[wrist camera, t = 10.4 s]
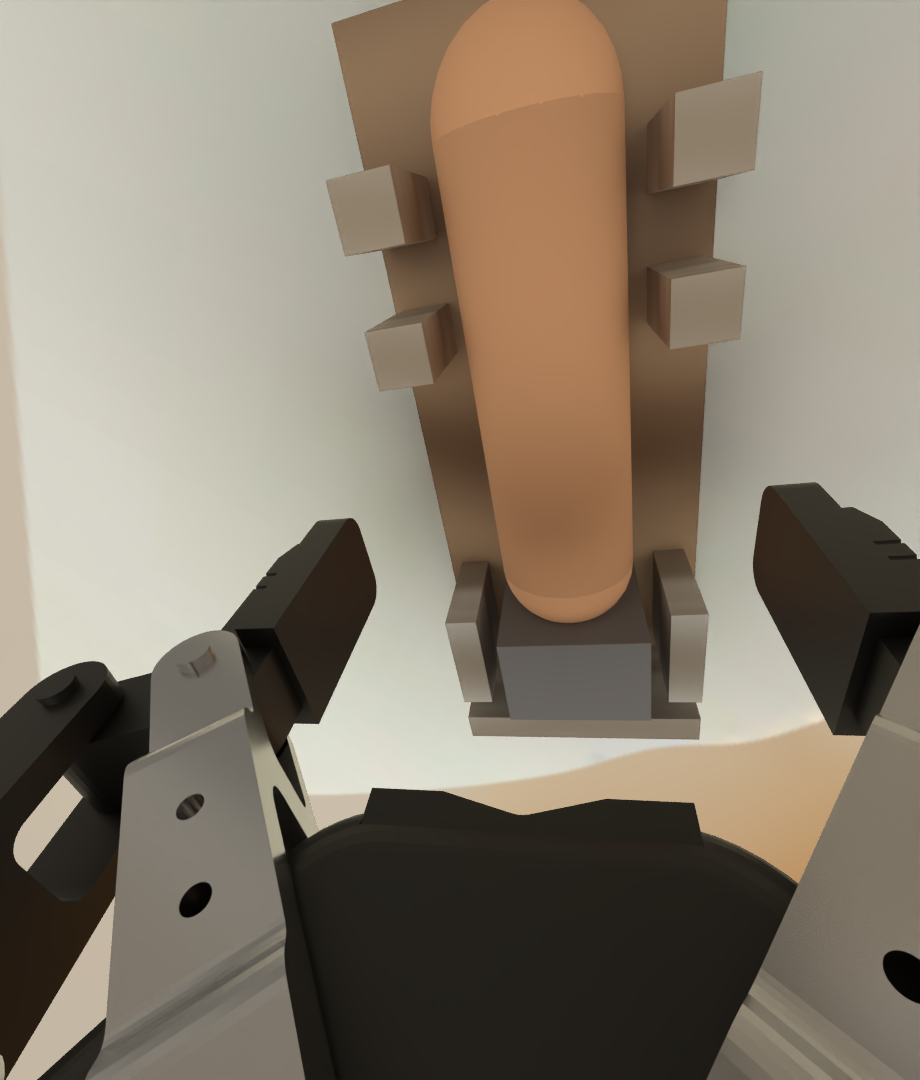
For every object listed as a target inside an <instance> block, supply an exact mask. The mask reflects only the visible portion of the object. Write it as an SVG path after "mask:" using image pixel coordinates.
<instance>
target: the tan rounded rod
mask: <svg viewBox="0 0 920 1080" xmlns="http://www.w3.org/2000/svg"><path fill="white" fill-rule="evenodd" d="M430 127H431V138H432V147H433V153H434V159H435V165H436V171H437V177H438V183H439V189H440V195H441V200H442V206H443V212H444V218H445V224H446V230H447V236H448V242H449V248H450V254H451V260H452V266H453V272H454V278H455V283H456V289H457V295H458V301H459V307H460V313H461V319H462V325H463V331H464V337H465V343H466V349H467V355H468V360H469V366H470V372H471V378H472V384H473V390H474V396H475V402H476V408H477V414H478V420H479V426H480V432H481V438H482V443H483V449H484V455H485V461H486V467H487V473H488V479H489V485H490V491H491V497H492V503H493V509H494V515H495V521H496V526H497V532H498V538H499V544H500V550H501V556H502V562H503V568H504V573H505V576H506V585H505V592H504V599H503V605H502V612H501V619H500V626H499V633H498V640H497V652H498V658H499V663H500V668H501V673H502V678H503V683H504V688H505V694H506V699H507V704H508V709H509V714H510V719H511V720H624V721H651V639H650V635H649V630H648V626H647V621H646V617H645V612H644V607H643V603H642V598H641V594H640V589H639V585H638V580H637V576H636V571H635V566H634V562H633V523H632V470H631V416H630V363H629V309H628V256H627V203H626V149H625V97H624V90H623V80H622V71H621V67H620V64H619V60H618V57H617V53H616V50H615V47H614V45H613V43H612V41H611V39H610V37H609V35H608V33H607V31H606V29H605V27H604V26H603V25H602V23H601V22H600V21H599V20H598V19H597V17H596V16H595V15H594V14H593V13H592V12H591V10H590V9H589V8H588V7H587V6H586V5H584V4H583V3H581V2H580V1H578V0H489V1H488V2H486V3H485V4H483V5H482V6H481V7H480V8H479V9H478V10H477V11H476V12H475V13H474V14H473V15H472V16H471V17H470V18H469V19H468V20H467V21H466V22H464V24H463V25H462V26H461V28H460V29H459V31H458V32H457V34H456V35H455V37H454V38H453V40H452V42H451V43H450V45H449V46H448V48H447V50H446V53H445V55H444V58H443V60H442V63H441V65H440V68H439V70H438V74H437V78H436V82H435V86H434V91H433V95H432V102H431V117H430Z"/></svg>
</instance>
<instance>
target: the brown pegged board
mask: <svg viewBox="0 0 920 1080" xmlns="http://www.w3.org/2000/svg"><path fill="white" fill-rule="evenodd" d="M488 1H489V0H402V1H399V2H396V3H392V4H389V5H386V6H383V7H380V8H377V9H374V10H371V11H368V12H365V13H362V14H359V15H356V16H353V17H350V18H347V19H343V20H340V21H337V22H334V23H331V24H332V29H333V33H334V38H335V42H336V47H337V51H338V56H339V60H340V65H341V69H342V73H343V78H344V82H345V87H346V91H347V96H348V100H349V105H350V109H351V114H352V118H353V123H354V127H355V132H356V136H357V141H358V145H359V150H360V154H361V159H362V163H363V167H364V171H362V172H358V173H354V174H350V175H346V176H343V177H339V178H335V179H331V180H327V181H326V184H327V188H328V192H329V196H330V199H331V203H332V207H333V211H334V215H335V219H336V223H337V227H338V231H339V235H340V239H341V242H342V246H343V250H344V254H345V256H351V255H357V254H363V253H369V252H374V251H380V250H382V252H383V257H384V261H385V266H386V270H387V275H388V279H389V284H390V288H391V293H392V297H393V302H394V306H395V311H396V315H394V316H392V317H391V318H389V319H387V320H385V321H384V322H382V323H380V324H379V325H377V326H375V327H373V328H372V329H370V330H368V331H367V332H365V336H366V340H367V344H368V348H369V352H370V356H371V360H372V364H373V367H374V371H375V375H376V379H377V383H378V387H379V391H387V390H394V389H401V388H408V387H413V391H414V396H415V400H416V405H417V409H418V414H419V418H420V423H421V427H422V432H423V436H424V440H425V445H426V449H427V454H428V458H429V463H430V467H431V472H432V476H433V481H434V485H435V490H436V494H437V499H438V503H439V508H440V512H441V517H442V521H443V525H444V530H445V534H446V539H447V543H448V548H449V552H450V557H451V561H452V566H453V570H454V575H455V579H456V587H455V590H454V594H453V597H452V601H451V604H450V608H449V612H448V615H447V619H446V622H445V625H446V629H447V633H448V637H449V641H450V645H451V649H452V653H453V657H454V661H455V665H456V669H457V673H458V677H459V681H460V685H461V689H462V693H463V697H464V701H465V702H471V706H470V712H469V717H468V718H469V722H470V726H471V730H472V734H473V736H517V737H578V738H638V739H698V740H699V734H700V721H701V719H700V715H699V712H698V708H697V705H696V702H702V695H703V682H704V669H705V656H706V643H707V630H708V617H709V614H708V611H707V609H706V606H705V603H704V601H703V598H702V596H701V593H700V590H699V588H698V585H697V582H696V580H695V562H696V544H697V527H698V509H699V492H700V474H701V456H702V439H703V421H704V403H705V386H706V368H707V350H708V344H711V343H718V342H724V341H731V340H738V339H740V331H741V320H742V308H743V296H744V284H745V273H746V266H744V265H739V264H735V263H731V262H727V261H723V260H719V259H715V258H713V244H714V227H715V209H716V191H717V179H720V178H724V177H727V176H731V175H735V174H739V173H743V172H747V171H751V170H754V168H755V156H756V144H757V133H758V121H759V109H760V98H761V86H762V74H763V71H761V72H757V73H753V74H749V75H745V76H741V77H737V78H733V79H729V80H725V81H723V68H724V50H725V33H726V15H727V0H578V1H580V2H581V3H583V4H584V5H586V6H587V7H588V8H589V9H590V10H591V12H592V13H593V14H594V15H595V16H596V17H597V19H598V20H599V21H600V22H601V23H602V25H603V26H604V27H605V29H606V31H607V33H608V35H609V37H610V39H611V41H612V43H613V45H614V47H615V50H616V53H617V57H618V60H619V64H620V67H621V71H622V80H623V90H624V97H625V149H626V203H627V256H628V309H629V363H630V416H631V470H632V523H633V562H634V566H635V571H636V576H637V580H638V585H639V589H640V594H641V598H642V603H643V607H644V612H645V617H646V621H647V626H648V630H649V635H650V639H651V721H624V720H511V719H510V714H509V709H508V704H507V699H506V694H505V688H504V683H503V678H502V673H501V668H500V663H499V658H498V652H497V640H498V633H499V626H500V619H501V612H502V605H503V599H504V592H505V585H506V576H505V573H504V568H503V562H502V556H501V550H500V544H499V538H498V532H497V526H496V521H495V515H494V509H493V503H492V497H491V491H490V485H489V479H488V473H487V467H486V461H485V455H484V449H483V443H482V438H481V432H480V426H479V420H478V414H477V408H476V402H475V396H474V390H473V384H472V378H471V372H470V366H469V360H468V355H467V349H466V343H465V337H464V331H463V325H462V319H461V313H460V307H459V301H458V295H457V289H456V283H455V278H454V272H453V266H452V260H451V254H450V248H449V242H448V236H447V230H446V224H445V218H444V212H443V206H442V200H441V195H440V189H439V183H438V177H437V171H436V165H435V159H434V153H433V147H432V138H431V127H430V117H431V102H432V95H433V91H434V86H435V82H436V78H437V74H438V70H439V68H440V65H441V63H442V60H443V58H444V55H445V53H446V50H447V48H448V46H449V45H450V43H451V42H452V40H453V38H454V37H455V35H456V34H457V32H458V31H459V29H460V28H461V26H462V25H463V24H464V22H466V21H467V20H468V19H469V18H470V17H471V16H472V15H473V14H474V13H475V12H476V11H477V10H478V9H479V8H480V7H481V6H482V5H483V4H485V3H486V2H488Z"/></svg>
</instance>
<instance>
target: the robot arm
mask: <svg viewBox="0 0 920 1080" xmlns="http://www.w3.org/2000/svg"><path fill="white" fill-rule="evenodd" d="M753 572H754V579H755V583H756V587H757V589H758V592H759V594H760V596H761V598H762V599H763V601H764V603H765V605H766V607H767V609H768V611H769V613H770V615H771V617H772V619H773V620H774V622H775V624H776V626H777V628H778V630H779V632H780V634H781V636H782V638H783V640H784V642H785V643H786V645H787V647H788V649H789V651H790V653H791V655H792V657H793V659H794V661H795V663H796V665H797V666H798V668H799V670H800V672H801V674H802V676H803V678H804V680H805V682H806V684H807V686H808V687H809V689H810V691H811V693H812V695H813V697H814V699H815V701H816V703H817V705H818V707H819V709H820V710H821V712H822V714H823V716H824V718H825V720H826V722H827V724H828V726H829V728H830V730H831V732H832V733H833V735H854V736H855V735H856V736H866V737H865V739H864V741H863V743H862V746H861V748H860V751H859V753H858V754H857V757H856V759H855V761H854V763H853V765H852V768H851V770H850V772H849V774H848V776H847V779H846V781H845V783H844V785H843V788H842V790H841V792H840V794H839V796H838V799H837V801H836V803H835V805H834V807H833V809H832V812H831V814H830V816H829V818H828V821H827V823H826V825H825V827H824V829H823V832H822V834H821V836H820V839H819V840H818V842H817V845H816V847H815V849H814V851H813V854H812V856H811V858H810V860H809V863H808V865H807V867H806V869H805V871H804V874H803V876H802V878H801V880H800V882H799V884H798V883H797V882H795V881H794V880H793V879H792V878H790V877H789V876H788V875H786V874H785V873H783V872H782V871H780V870H779V869H777V868H775V867H774V866H773V865H771V864H770V863H768V862H767V861H765V860H764V859H762V858H760V857H758V856H756V855H754V854H753V853H751V852H749V851H747V850H745V849H743V848H741V847H739V846H737V845H735V844H733V843H730V842H728V841H725V840H723V839H721V838H718V837H716V836H713V835H710V834H706V833H703V832H701V831H700V827H699V823H698V818H697V814H696V810H695V805H694V803H682V802H660V801H639V800H618V799H617V800H616V799H604V800H599V801H594V802H589V803H584V804H579V805H574V806H570V807H564V808H560V809H554V810H549V811H545V812H540V813H535V814H530V815H516V814H512V813H509V812H506V811H502V810H500V809H496V808H493V807H490V806H487V805H484V804H481V803H478V802H475V801H472V800H468V799H465V798H462V797H459V796H456V795H453V794H450V793H447V792H444V791H427V790H406V789H384V788H372V790H371V793H370V797H369V800H368V803H367V806H366V809H365V812H364V814H360V815H356V816H353V817H350V818H347V819H344V820H342V821H339V822H337V823H335V824H333V825H330V826H328V827H326V828H324V829H322V830H320V831H319V829H318V826H317V823H316V820H315V817H314V814H313V811H312V807H311V804H310V800H309V797H308V793H307V790H306V787H305V783H304V780H303V776H302V773H301V770H300V766H299V763H298V759H297V756H296V753H295V749H294V746H293V743H292V741H291V739H290V737H289V736H288V734H289V732H290V730H291V728H292V726H293V724H294V723H299V724H319V722H320V720H321V718H322V716H323V714H324V712H325V709H326V707H327V705H328V703H329V701H330V699H331V696H332V694H333V692H334V690H335V688H336V686H337V683H338V681H339V679H340V677H341V675H342V673H343V671H344V668H345V666H346V664H347V662H348V660H349V658H350V655H351V653H352V651H353V649H354V647H355V645H356V642H357V640H358V638H359V636H360V634H361V632H362V629H363V627H364V625H365V623H366V621H367V619H368V616H369V614H370V612H371V610H372V608H373V606H374V603H375V599H376V580H375V575H374V572H373V569H372V566H371V563H370V560H369V556H368V553H367V550H366V547H365V544H364V541H363V538H362V535H361V531H360V528H359V526H358V524H357V522H356V521H355V520H354V519H352V518H347V519H334V520H321V521H318V522H316V523H315V525H314V526H313V527H312V528H311V530H310V531H309V532H308V534H307V535H306V536H305V538H304V539H303V540H302V541H301V543H300V544H297V545H296V546H295V547H293V548H292V549H290V550H289V551H288V552H286V553H285V554H284V555H282V556H281V557H279V558H278V559H277V561H276V562H275V563H274V564H273V566H272V567H271V568H270V569H269V571H268V572H267V573H266V575H267V576H266V577H263V578H262V579H261V581H260V582H259V583H258V585H257V586H256V589H254V590H253V591H252V592H251V593H250V595H249V596H248V597H247V598H246V600H245V601H244V602H243V603H242V605H241V606H240V607H239V608H238V610H237V611H236V612H235V613H234V615H233V616H232V617H231V618H230V620H229V621H228V622H227V623H226V625H225V626H224V627H223V628H222V630H218V631H210V632H205V633H202V634H199V635H196V636H193V637H191V638H189V639H187V640H185V641H183V642H182V643H180V644H178V645H177V646H175V647H174V648H172V649H171V650H170V651H169V652H167V653H166V654H165V655H164V656H163V657H162V658H161V659H160V660H159V662H158V663H157V664H156V666H155V667H154V669H153V672H152V673H150V674H146V675H142V676H138V677H134V678H130V679H126V680H123V681H119V682H117V681H116V680H115V678H114V677H113V675H112V674H111V673H110V671H109V670H108V669H107V667H106V666H105V665H104V664H103V663H101V662H96V661H90V662H83V663H79V664H75V665H72V666H69V667H67V668H65V669H62V670H60V671H58V672H56V673H54V674H52V675H51V676H49V677H47V678H46V679H44V680H43V681H41V682H40V683H38V684H37V685H36V686H34V687H33V688H32V689H30V690H29V691H28V692H27V693H26V694H25V695H24V696H23V697H22V698H21V699H20V700H19V701H18V702H17V703H16V704H15V705H14V706H12V707H11V708H10V709H9V710H8V711H7V712H6V713H5V714H4V715H3V717H1V718H0V1080H6V1078H7V1077H8V1075H9V1073H10V1071H11V1070H12V1068H13V1066H14V1065H15V1063H16V1061H17V1060H18V1058H19V1056H20V1055H21V1053H22V1051H23V1050H24V1048H25V1046H26V1045H27V1043H28V1041H29V1040H30V1038H31V1036H32V1034H33V1033H34V1031H35V1029H36V1028H37V1026H38V1024H39V1023H40V1021H41V1019H42V1018H43V1016H44V1014H45V1013H46V1011H47V1009H48V1008H49V1006H50V1004H51V1003H52V1001H53V999H54V997H55V996H56V994H57V993H58V991H59V989H60V987H61V986H62V984H63V982H64V981H65V979H66V977H67V976H68V974H69V972H70V971H71V969H72V967H73V966H74V964H75V962H76V961H77V959H78V957H79V956H80V954H81V952H82V950H83V949H84V947H85V945H86V944H87V942H88V940H89V939H90V937H91V935H92V934H93V932H94V930H95V929H96V927H97V925H98V923H99V922H100V920H101V918H102V917H103V915H104V913H105V912H106V910H107V908H108V907H109V905H110V903H111V902H112V900H113V898H114V897H115V906H114V920H113V933H112V947H111V961H110V974H109V988H108V1002H107V1016H106V1018H105V1019H104V1020H103V1021H101V1022H100V1023H99V1024H98V1025H97V1026H96V1027H95V1028H94V1029H93V1030H92V1031H90V1032H89V1033H88V1034H87V1035H86V1036H85V1037H84V1038H83V1039H82V1040H80V1041H79V1042H78V1043H77V1044H76V1045H75V1046H74V1047H73V1048H72V1049H71V1050H69V1051H68V1052H67V1053H66V1054H65V1055H64V1056H63V1057H62V1058H61V1059H60V1060H59V1061H57V1062H56V1063H55V1064H54V1065H53V1066H52V1067H51V1068H50V1069H49V1070H47V1071H46V1072H45V1073H44V1074H43V1075H42V1076H41V1077H40V1078H39V1079H37V1080H920V559H917V555H916V554H915V553H914V552H913V551H912V550H911V549H910V548H909V547H908V546H907V545H906V544H905V543H902V544H901V539H900V538H899V537H898V536H897V535H896V534H895V533H894V532H892V531H891V530H890V529H889V528H888V527H887V526H886V525H885V524H884V523H883V522H882V521H880V520H878V519H876V518H874V517H872V516H870V515H868V514H866V513H863V512H861V511H859V510H857V509H855V508H853V507H848V508H841V507H840V506H839V505H838V504H837V503H836V502H835V501H834V500H833V498H832V497H831V496H830V495H829V494H828V493H827V492H826V491H825V490H824V489H823V488H822V487H821V486H820V485H819V484H818V483H815V482H813V483H800V484H787V485H775V486H768V487H766V489H765V490H764V492H763V495H762V500H761V507H760V514H759V521H758V528H757V535H756V542H755V549H754V557H753ZM62 775H63V776H64V777H65V778H66V779H67V780H68V781H69V782H70V783H71V784H72V785H73V786H74V788H75V789H76V790H77V791H78V792H79V793H80V794H81V795H82V796H83V798H82V799H81V801H80V802H79V803H78V805H77V806H76V807H75V809H74V810H73V811H72V813H71V814H70V815H69V817H68V818H67V819H66V821H65V822H64V823H63V825H62V826H61V827H60V829H59V830H58V831H57V833H56V834H55V835H54V837H53V838H52V839H51V841H50V842H49V843H48V845H47V846H46V847H45V849H44V850H43V851H42V853H41V854H40V855H39V857H38V858H37V859H36V861H35V862H34V863H33V865H32V866H31V867H30V869H29V870H28V871H27V872H26V871H25V870H24V869H23V868H21V866H19V865H18V863H17V862H16V861H15V858H14V854H13V847H14V842H15V838H16V836H17V833H18V831H19V830H20V828H21V826H22V825H23V823H24V822H25V821H26V820H27V818H28V817H29V816H30V815H31V813H32V812H33V811H34V810H35V809H36V807H37V806H38V805H39V804H40V802H41V801H42V800H43V799H44V798H45V796H46V795H47V794H48V793H49V791H50V790H51V789H52V788H53V786H54V785H55V784H56V783H57V782H58V780H59V779H60V778H61V777H62Z"/></svg>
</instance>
